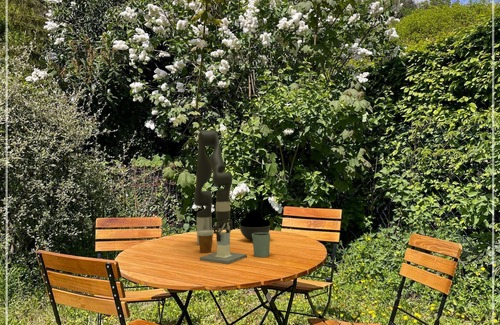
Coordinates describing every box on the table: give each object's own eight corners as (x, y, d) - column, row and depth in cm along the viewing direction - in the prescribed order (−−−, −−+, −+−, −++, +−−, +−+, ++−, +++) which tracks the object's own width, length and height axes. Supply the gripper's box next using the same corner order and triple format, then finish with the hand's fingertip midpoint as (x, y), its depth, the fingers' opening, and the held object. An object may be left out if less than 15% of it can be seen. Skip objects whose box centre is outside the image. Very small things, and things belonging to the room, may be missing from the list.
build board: (219, 253, 245) (219, 250, 245) (246, 257, 235) (246, 254, 235) (199, 260, 230) (199, 257, 230) (227, 264, 220) (227, 261, 220)
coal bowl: (263, 236, 295) (263, 209, 294) (275, 242, 276) (275, 212, 276) (235, 239, 288) (235, 210, 287) (245, 244, 269) (245, 214, 269)
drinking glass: (264, 258, 232) (264, 236, 232) (248, 256, 237) (248, 234, 237) (273, 254, 240) (273, 233, 240) (258, 252, 246) (257, 231, 246)
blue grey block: (222, 243, 236) (222, 232, 236) (230, 244, 233) (229, 232, 233) (217, 244, 232) (216, 233, 232) (224, 245, 229) (224, 234, 229)
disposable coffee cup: (216, 250, 253) (216, 230, 253) (209, 254, 244) (209, 232, 244) (201, 249, 256) (201, 229, 256) (194, 253, 247) (194, 232, 247)
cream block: (222, 254, 236) (222, 243, 236) (230, 255, 233) (229, 244, 233) (217, 256, 232) (216, 244, 232) (224, 257, 229) (224, 245, 229)
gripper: (220, 211, 224) (221, 243, 224) (236, 208, 236) (236, 238, 237) (209, 211, 228) (209, 241, 228) (224, 208, 240) (225, 237, 240)
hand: (223, 240), depth 232 cm, fingers open, 8 cm apart
